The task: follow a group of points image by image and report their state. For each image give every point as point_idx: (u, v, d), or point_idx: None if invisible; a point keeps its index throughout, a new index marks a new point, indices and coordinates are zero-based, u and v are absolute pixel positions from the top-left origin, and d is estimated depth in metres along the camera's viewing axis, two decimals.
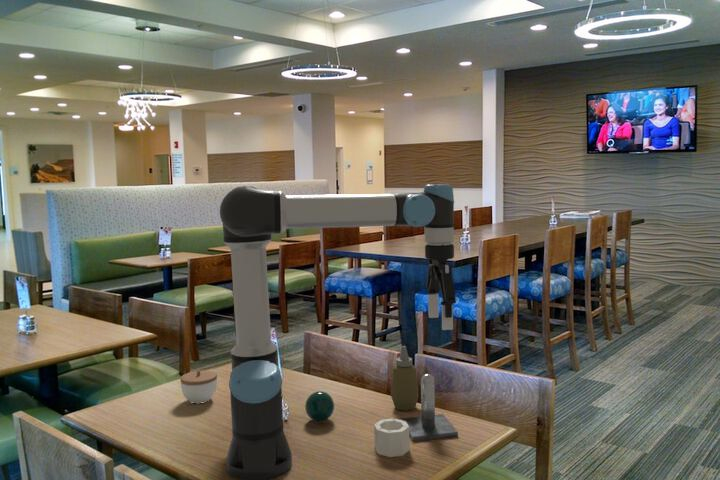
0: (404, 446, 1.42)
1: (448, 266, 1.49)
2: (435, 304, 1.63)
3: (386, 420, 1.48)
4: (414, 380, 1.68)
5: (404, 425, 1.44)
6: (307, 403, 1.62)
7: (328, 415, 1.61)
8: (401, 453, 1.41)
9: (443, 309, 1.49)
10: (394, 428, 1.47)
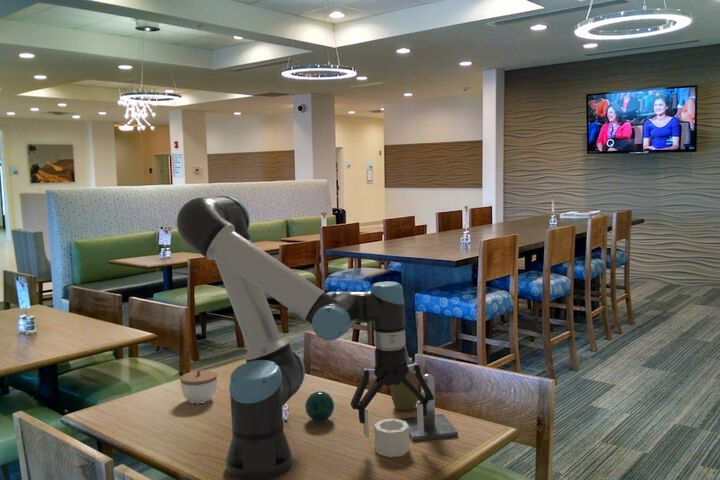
0: (404, 446, 1.42)
1: (364, 370, 1.41)
2: (419, 414, 1.45)
3: (386, 420, 1.48)
4: (414, 380, 1.68)
5: (404, 425, 1.44)
6: (307, 403, 1.62)
7: (328, 415, 1.61)
8: (401, 453, 1.41)
9: None
10: (394, 428, 1.47)
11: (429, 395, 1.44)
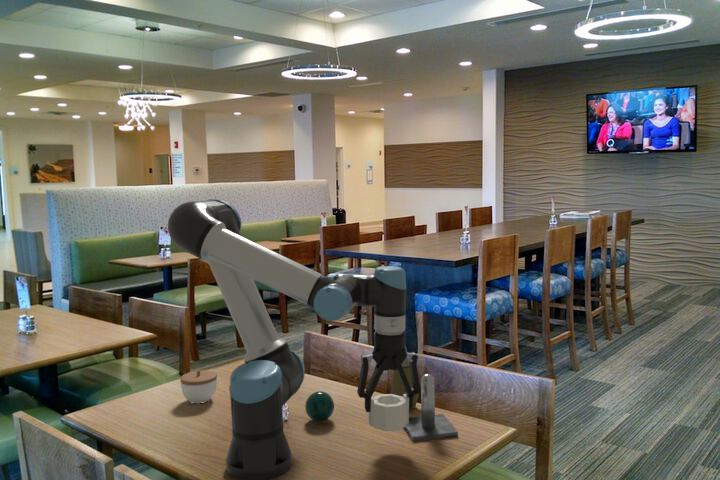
0: (401, 421, 1.42)
1: (362, 358, 1.41)
2: None
3: (383, 395, 1.47)
4: None
5: (402, 400, 1.44)
6: (307, 403, 1.62)
7: (328, 415, 1.61)
8: (398, 428, 1.41)
9: None
10: (391, 403, 1.47)
11: (417, 388, 1.44)
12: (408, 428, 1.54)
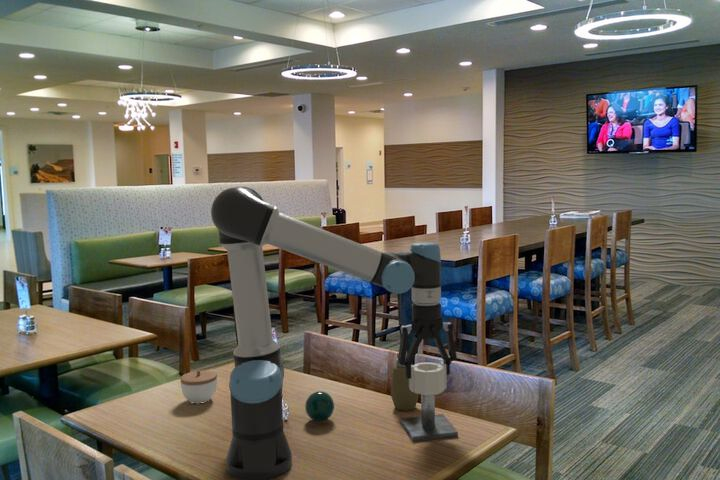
0: (440, 385, 1.52)
1: (402, 328, 1.52)
2: None
3: (422, 363, 1.58)
4: None
5: (439, 367, 1.54)
6: (307, 403, 1.62)
7: (328, 415, 1.61)
8: (437, 392, 1.51)
9: None
10: None
11: (453, 355, 1.54)
12: (408, 428, 1.54)
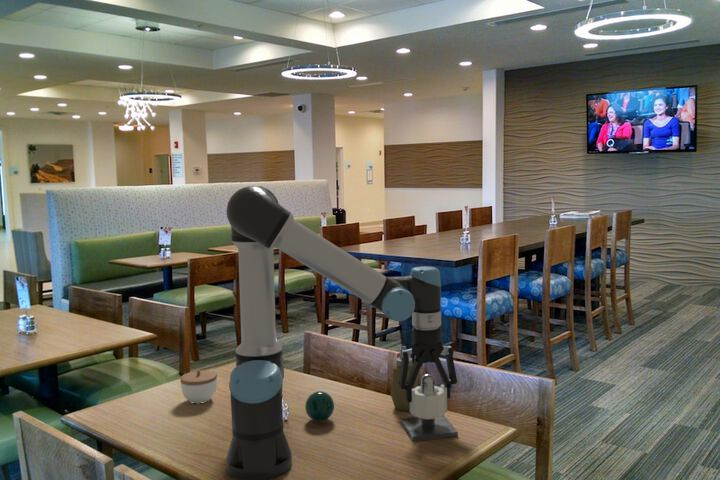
0: (440, 409, 1.52)
1: (402, 352, 1.52)
2: None
3: None
4: None
5: (440, 390, 1.55)
6: (307, 403, 1.62)
7: (328, 415, 1.61)
8: (438, 415, 1.52)
9: None
10: None
11: (453, 379, 1.55)
12: (408, 428, 1.54)
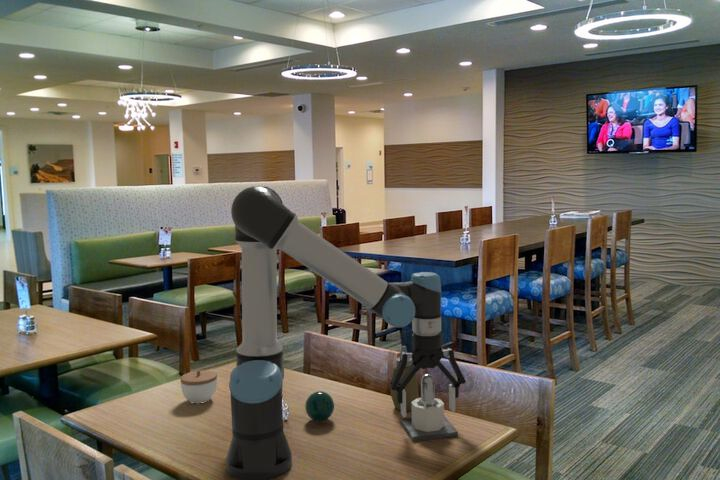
0: (440, 422, 1.53)
1: (402, 354, 1.52)
2: (451, 397, 1.56)
3: None
4: (414, 380, 1.68)
5: (439, 402, 1.55)
6: (307, 403, 1.62)
7: (328, 415, 1.61)
8: (437, 428, 1.52)
9: None
10: None
11: (461, 379, 1.55)
12: (408, 428, 1.54)
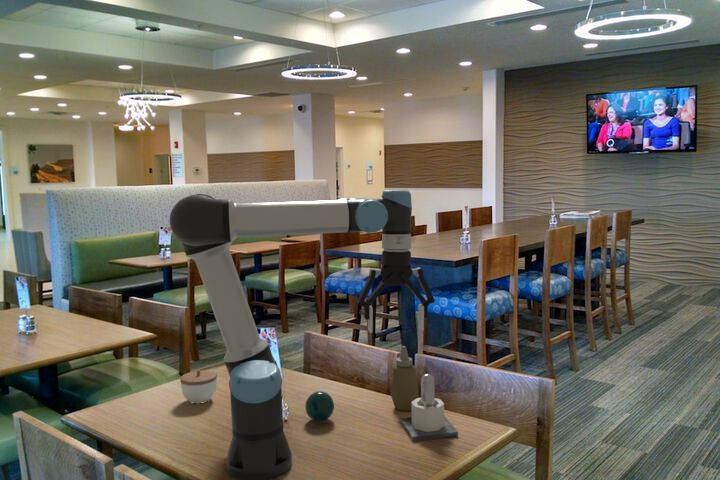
0: (440, 422, 1.53)
1: (371, 270, 1.52)
2: (420, 316, 1.56)
3: None
4: (414, 380, 1.68)
5: (439, 402, 1.55)
6: (307, 403, 1.62)
7: (328, 415, 1.61)
8: (437, 428, 1.52)
9: None
10: None
11: (430, 298, 1.55)
12: (408, 428, 1.54)
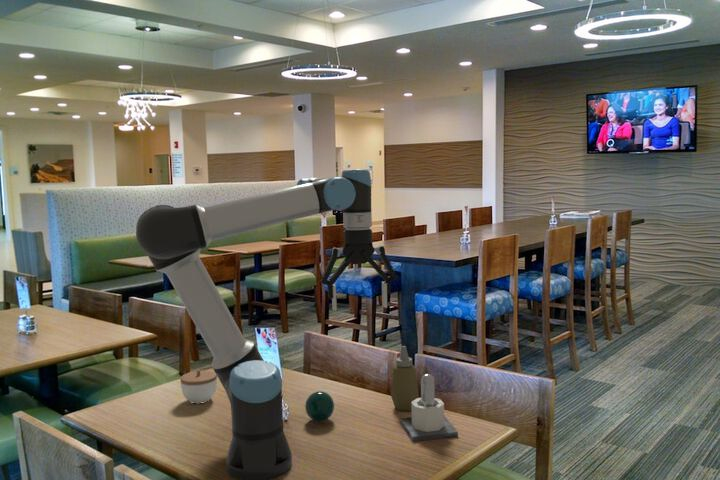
0: (440, 422, 1.53)
1: (333, 249, 1.55)
2: (383, 293, 1.58)
3: None
4: (414, 380, 1.68)
5: (439, 402, 1.55)
6: (307, 403, 1.62)
7: (328, 415, 1.61)
8: (437, 428, 1.52)
9: None
10: None
11: (393, 275, 1.57)
12: (408, 428, 1.54)
